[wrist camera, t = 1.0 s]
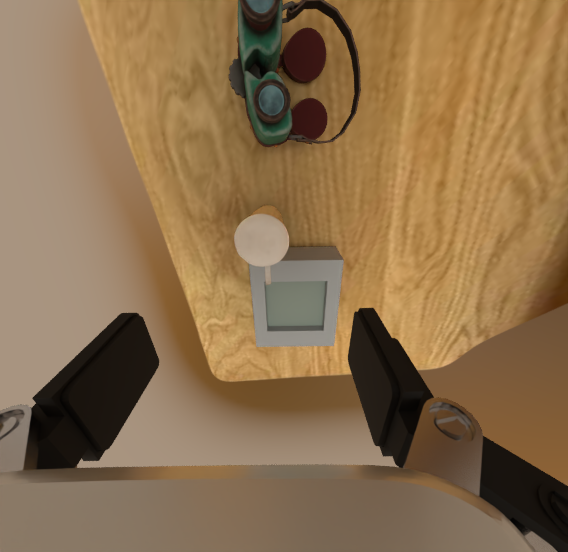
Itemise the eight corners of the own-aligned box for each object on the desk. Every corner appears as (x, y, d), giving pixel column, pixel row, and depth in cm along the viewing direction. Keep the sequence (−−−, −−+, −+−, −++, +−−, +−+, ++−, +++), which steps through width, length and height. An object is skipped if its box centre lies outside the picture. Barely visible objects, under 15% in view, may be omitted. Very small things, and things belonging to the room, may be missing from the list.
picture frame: (253, 247, 28) (248, 261, 24) (335, 246, 28) (343, 259, 24) (259, 325, 33) (256, 346, 30) (328, 324, 33) (334, 345, 29)
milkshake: (254, 247, 28) (241, 289, 19) (243, 202, 25) (222, 225, 17) (291, 241, 27) (295, 280, 19) (283, 195, 25) (284, 214, 16)
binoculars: (398, 129, 14) (237, 149, 14) (341, 142, 24) (245, 154, 23) (421, -109, 10) (194, -92, 10) (342, 21, 19) (225, 33, 19)
